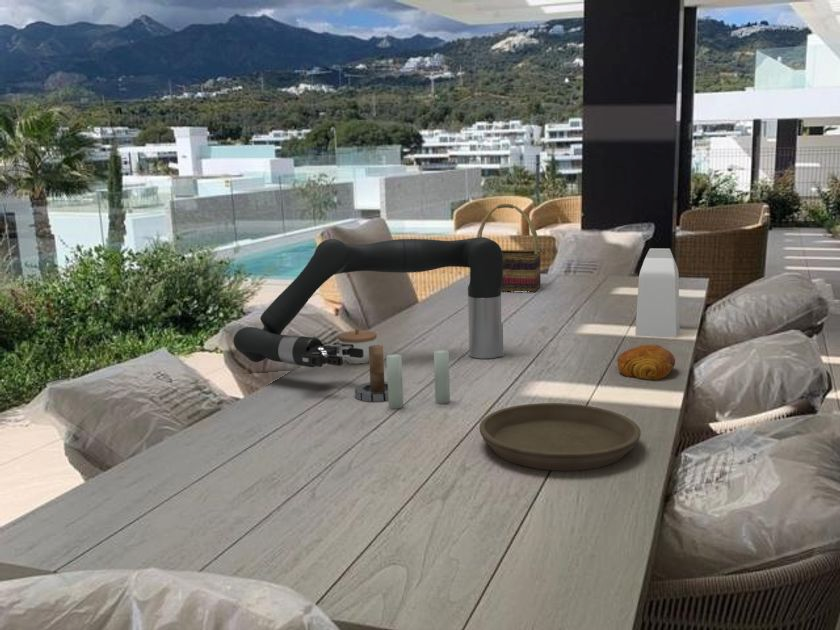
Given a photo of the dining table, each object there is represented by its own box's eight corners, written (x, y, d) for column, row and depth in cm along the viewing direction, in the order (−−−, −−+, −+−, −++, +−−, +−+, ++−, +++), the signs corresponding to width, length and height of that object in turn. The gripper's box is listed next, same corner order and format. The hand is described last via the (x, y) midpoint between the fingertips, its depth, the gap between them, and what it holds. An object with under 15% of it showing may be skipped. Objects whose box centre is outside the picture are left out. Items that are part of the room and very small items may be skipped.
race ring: (399, 387, 209) (399, 380, 209) (401, 400, 199) (401, 393, 198) (355, 389, 209) (355, 382, 208) (355, 402, 198) (354, 395, 198)
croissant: (678, 376, 220) (681, 345, 219) (668, 383, 206) (670, 350, 205) (623, 369, 226) (625, 340, 225) (609, 376, 212) (611, 345, 211)
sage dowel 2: (449, 399, 198) (447, 349, 196) (450, 403, 195) (449, 353, 193) (434, 399, 198) (433, 350, 196) (436, 404, 195) (434, 353, 193)
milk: (635, 335, 256) (636, 250, 251) (640, 327, 267) (641, 246, 262) (676, 337, 252) (678, 251, 247) (679, 329, 262) (682, 246, 257)
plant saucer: (646, 428, 175) (646, 406, 174) (632, 484, 146) (632, 459, 145) (500, 417, 185) (500, 397, 184) (460, 468, 156) (460, 444, 155)
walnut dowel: (384, 392, 205) (382, 344, 203) (385, 396, 202) (383, 348, 200) (370, 393, 205) (368, 345, 203) (370, 397, 202) (368, 348, 200)
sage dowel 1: (403, 404, 196) (401, 353, 194) (403, 408, 193) (401, 357, 190) (388, 404, 196) (386, 354, 193) (388, 409, 192) (386, 358, 190)
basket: (471, 291, 343) (469, 205, 336) (480, 285, 357) (478, 202, 350) (535, 293, 335) (535, 204, 328) (542, 287, 348) (541, 202, 342)
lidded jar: (372, 366, 230) (370, 333, 229) (334, 365, 233) (332, 332, 231) (381, 357, 241) (380, 324, 239) (345, 356, 243) (344, 324, 241)
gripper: (281, 342, 207) (334, 348, 199) (317, 330, 219) (368, 336, 211) (283, 371, 209) (335, 379, 200) (318, 358, 221) (369, 365, 212)
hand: (352, 357), depth 206 cm, fingers open, 8 cm apart
